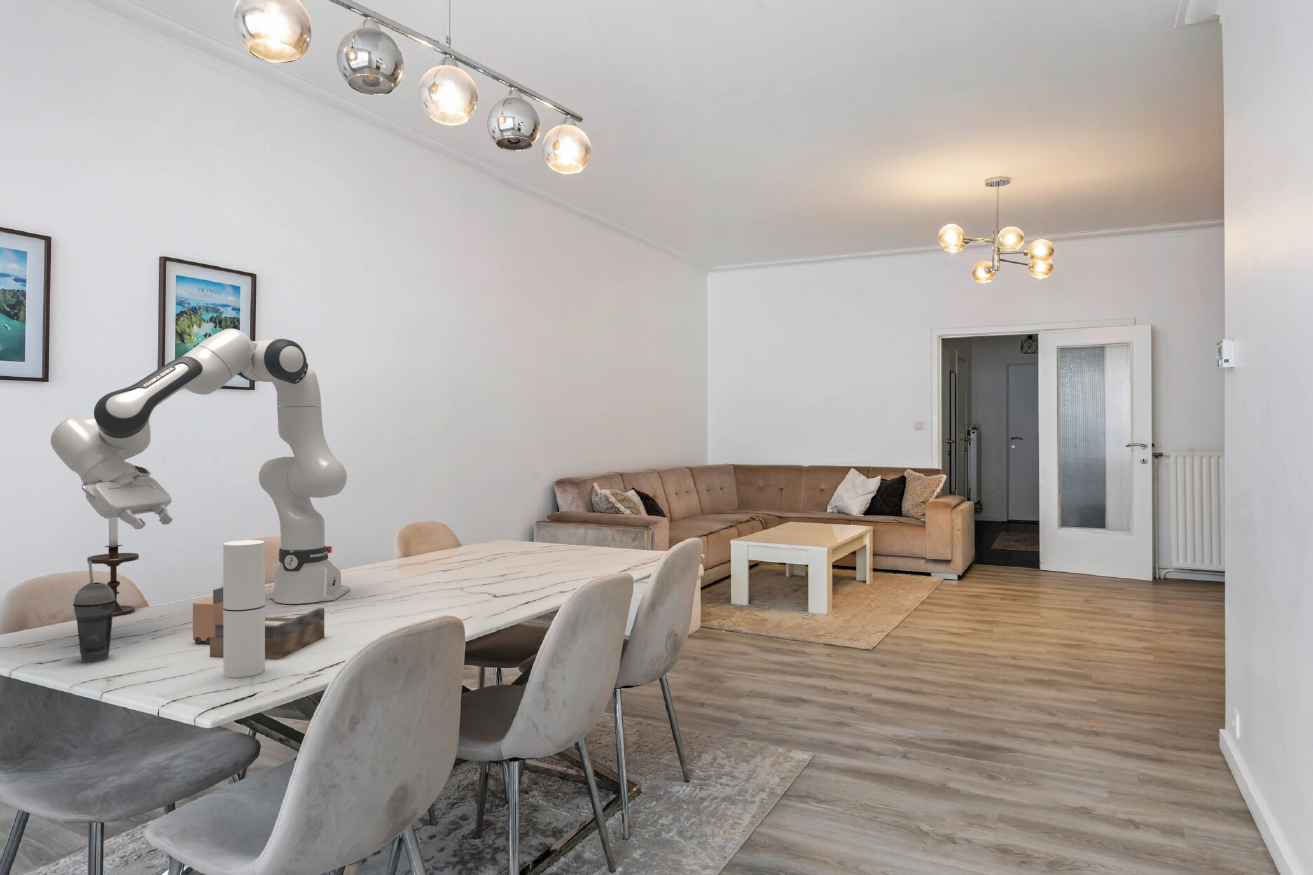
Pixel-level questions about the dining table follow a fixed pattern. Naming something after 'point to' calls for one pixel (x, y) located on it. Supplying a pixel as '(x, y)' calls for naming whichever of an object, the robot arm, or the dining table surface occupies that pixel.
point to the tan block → (207, 616)
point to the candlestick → (115, 564)
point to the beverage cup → (94, 619)
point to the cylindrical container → (244, 608)
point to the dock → (281, 634)
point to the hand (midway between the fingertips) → (155, 524)
